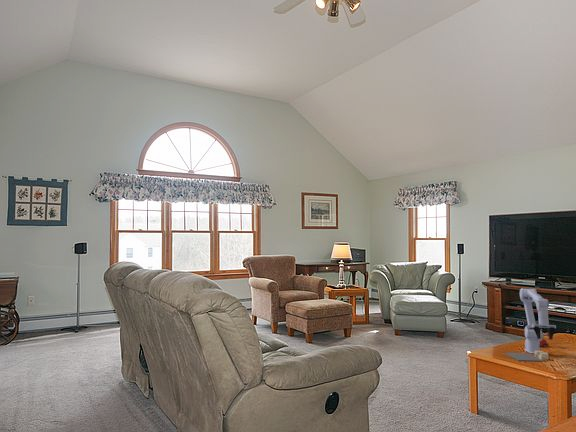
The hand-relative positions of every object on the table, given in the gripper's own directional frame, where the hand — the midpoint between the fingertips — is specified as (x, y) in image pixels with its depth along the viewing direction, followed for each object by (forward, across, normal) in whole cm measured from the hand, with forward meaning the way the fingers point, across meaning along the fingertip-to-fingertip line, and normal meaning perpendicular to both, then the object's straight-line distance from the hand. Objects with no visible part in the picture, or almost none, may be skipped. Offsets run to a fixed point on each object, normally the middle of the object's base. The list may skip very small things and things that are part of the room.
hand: (544, 339), depth 291 cm
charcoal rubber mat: (+12, -12, +6) cm, 18 cm away
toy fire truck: (+6, +21, +41) cm, 46 cm away
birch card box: (+12, 0, +6) cm, 14 cm away
